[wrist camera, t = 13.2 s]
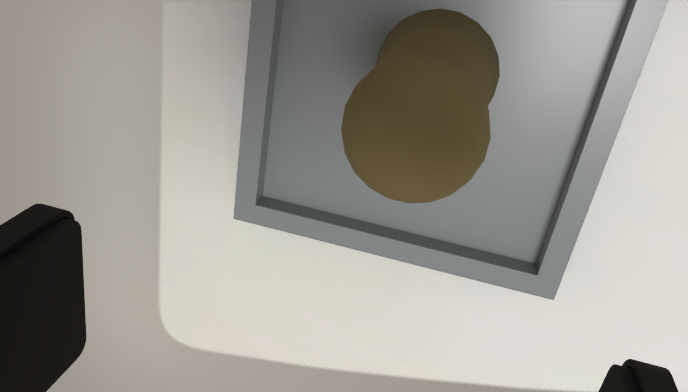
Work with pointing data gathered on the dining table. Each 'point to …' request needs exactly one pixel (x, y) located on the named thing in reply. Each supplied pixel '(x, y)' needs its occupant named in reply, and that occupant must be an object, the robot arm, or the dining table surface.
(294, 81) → the slate tray
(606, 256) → the dining table surface
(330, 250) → the dining table surface
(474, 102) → the brown pawn
